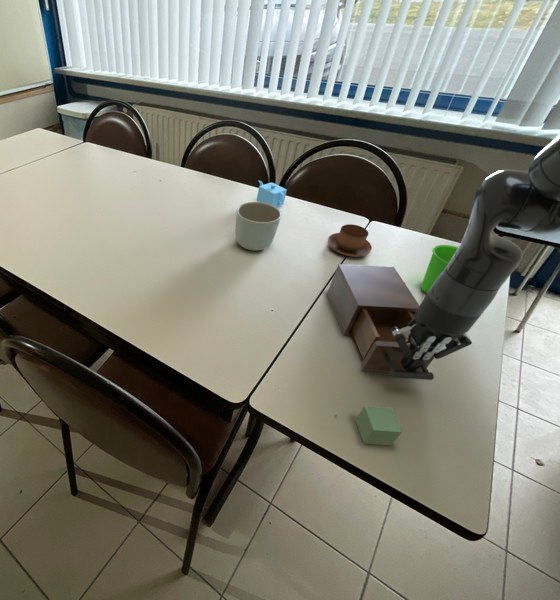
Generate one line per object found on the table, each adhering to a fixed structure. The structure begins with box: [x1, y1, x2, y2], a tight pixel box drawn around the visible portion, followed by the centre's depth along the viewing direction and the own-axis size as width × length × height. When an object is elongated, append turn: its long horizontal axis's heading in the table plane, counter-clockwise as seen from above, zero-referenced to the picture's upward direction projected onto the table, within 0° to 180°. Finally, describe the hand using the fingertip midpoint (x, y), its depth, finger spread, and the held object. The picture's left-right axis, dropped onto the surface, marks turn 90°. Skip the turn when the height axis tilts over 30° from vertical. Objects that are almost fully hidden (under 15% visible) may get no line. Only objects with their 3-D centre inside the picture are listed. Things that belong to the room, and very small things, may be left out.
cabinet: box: [326, 263, 420, 337], centre depth 84 cm, size 15×13×9 cm
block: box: [355, 405, 403, 447], centre depth 63 cm, size 5×5×5 cm
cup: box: [420, 244, 459, 295], centre depth 91 cm, size 9×9×11 cm
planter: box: [234, 201, 282, 252], centre depth 107 cm, size 12×12×11 cm
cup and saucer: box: [327, 223, 373, 258], centre depth 107 cm, size 12×12×6 cm
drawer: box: [351, 309, 436, 381], centre depth 75 cm, size 18×12×7 cm, turn 175°
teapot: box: [255, 180, 288, 208], centre depth 128 cm, size 12×6×8 cm, turn 33°
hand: (407, 368), depth 69 cm, fingers closed
